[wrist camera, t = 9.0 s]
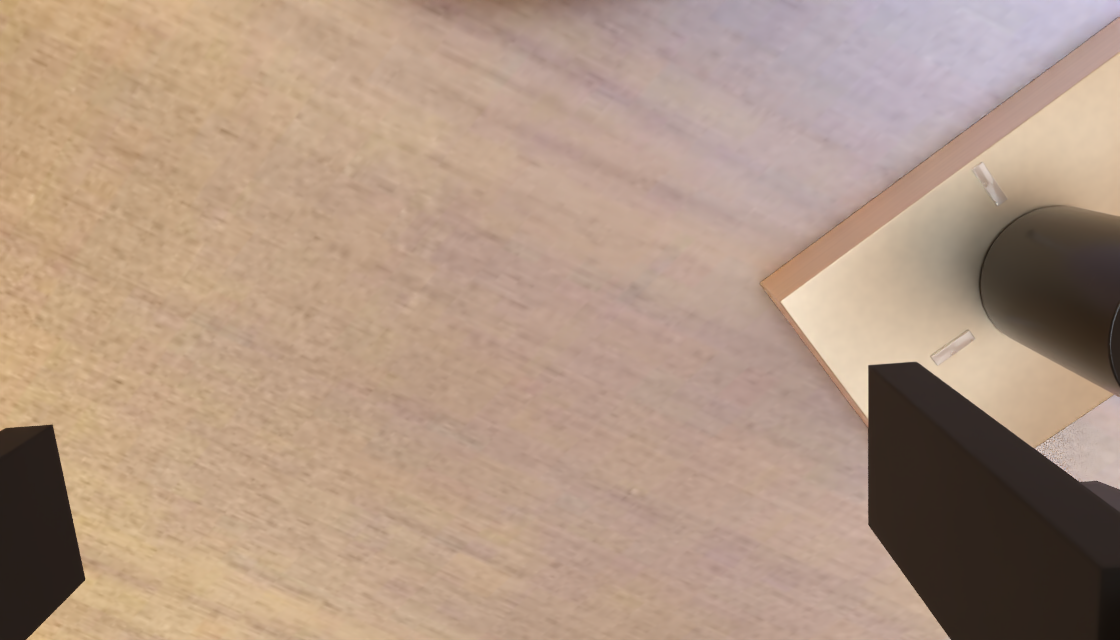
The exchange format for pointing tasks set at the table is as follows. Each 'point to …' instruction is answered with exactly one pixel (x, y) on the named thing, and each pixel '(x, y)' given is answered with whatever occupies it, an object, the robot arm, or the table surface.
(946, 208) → the panel
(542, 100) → the table surface
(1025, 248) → the hob knob
